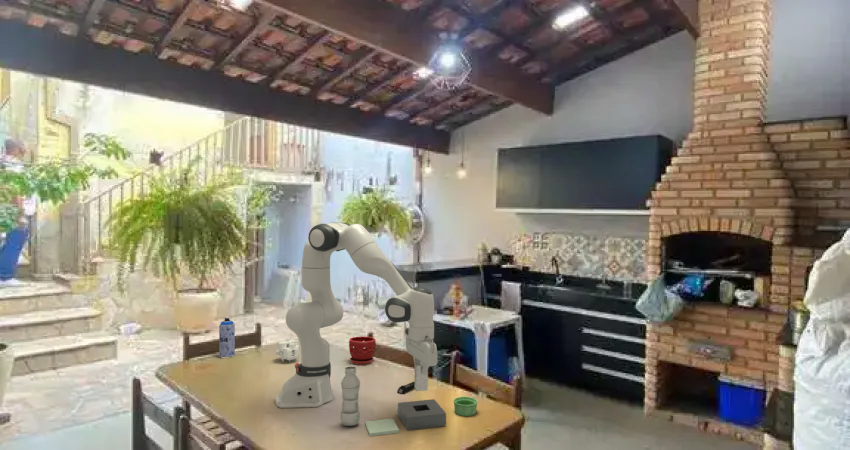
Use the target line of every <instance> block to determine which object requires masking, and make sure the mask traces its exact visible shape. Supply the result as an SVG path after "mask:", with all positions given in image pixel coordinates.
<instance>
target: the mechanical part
mask: <svg viewBox="0 0 850 450" xmlns="http://www.w3.org/2000/svg"><path fill="white" fill-rule="evenodd" d="M275 355H277V356H279V359H281V361H282V363H284V362H285V360H287V361H288V362H289V363H291V361H294V360H296V359H298V358H299V356H300V355H301V345H299V339H294V337H293V336H290V337H287V338H286V337H285V339H284V340H282V341H279V342H277V348H276V350H275Z"/></svg>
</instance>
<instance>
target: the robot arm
mask: <svg viewBox="0 0 850 450" xmlns="http://www.w3.org/2000/svg"><path fill="white" fill-rule="evenodd" d="M343 250H346V252H347V254H348V256H349V257H350V258H351V260H352V262H353V263H354V265H355V266H356V267H357V268H358V269H359V270H360V272H362V273H364V274H368V275H373V276H376V277H378V278H381V279H383V280H384V281H385V282H386V283H387V284H388V285H389V287H390V288H391V289H392V291H393V292H394V293H395V296H392V297H390V298H388V299H387V301H386V302H385V305H384V312H385V315H386V318H387V319H388V320H389V321H391V322H392V323H404V322H405V323H406V322H408V323H409V324H408V327H406V328H405V329H404V333H405V349H406V353H408V354H409V355H411V356H412V357H413V358H412V359H413V363H414V364H415V362H422V365H423V368H422V369H421V371H422V372H421V373H422V374H423V375H427V374H428V375H429V368H430V367H436V366H437V365H438V348H437V344H436V343H435V342H434V338H435V323H434V314H435V299H434V294H433V292H432V291H431V290H430V289H428V288H425V287H420V286H416V287H415V286H414V287H412V286H411V285H410V283H409V282H408V281H407V279H406V278H405V277H404V276H403V274H402V273H401V272H400V270H399V269H398V268H397V266H395V265H394V263H393V262H392V261H391V260H390V259H389V258H388V257H387V256H386V254H385V253H384V252H383V251H382V249H381V248H380V247H379V245H378V243H377V242H376V240H375V239H374V237H373V236H372V235H371V234H370V233H369V231H368V230H367V229H366V228H365V227H364V226H363V225H361V224H360V223H352V224H349V223H347V222H333V221H332V222H328V223H320V224H319V223H318V224H316V225H314V226H312V228H311V229H310V230H309V232H308V241H306V242H305V244H304V247H303V252H302V259H301V287H302V288H303V289H304V290H305V291H306V292H308V293H309V294H310V296H311V301H309V302H302V303H298V304H296V305H294V306H292V307H290V308H289V309H288V310H287V312H286V314H285V324H286V326H287V328H288V329H289V330H290V331H291V332H292V333H294V334H295V335H296V336H297V338H298V339H297V340H298V342H299V346H300V357H301V361H300V362H301V363H299V362H296V363H295V364H294V369H295V374H294V375H292V377H290V378H288V380H286V381H285V382H284V383H283V386H282V388H281V391H280V393H278V394H277V395H276V396H275V403H274V404H275V405H276V407H278V408H281V409H283V408H284V409H286V408H287V409H288V408H289V409H291V408H293V409H294V408H317V407H321V406H322V405H323V404H326V403H328V402H331V401H332V400H333V399H334V397H335V396H334V393H333V389H332V383H331V374H332V365H331V361H330V355H331V354H330V349H331V348H330V346H331V345H330V342H329V341H327V340H326V338H323V337H322V336H321V333H320V331H321V330H320V329H322V328H326V327H331V326H334V325H335V324H337V323H339V322H341V321H342V319H343V317H344V308H343V305H342V302H340V301H339V300H338V299H337V298H336V297H335V295H334V293H333V290H332V286H331V256H332V254H333V253H334V252H340V251H343Z"/></svg>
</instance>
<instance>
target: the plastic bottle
mask: <svg viewBox="0 0 850 450" xmlns="http://www.w3.org/2000/svg"><path fill="white" fill-rule="evenodd" d="M344 369H345V370H344V374H345V375H344V377H343V378H342V380H341V382H340V387H341V393H342V397H341V398H342V406H341V413H340V422H341V424H342V425H343V426H345V427H353V426H357V425H358V424H359V422H360V419H361V416H360V414H361V413H360V410H359V409H360V408H359V396H360V395H359V394H360V387H361V382H360V379H359V377H358V376H357V375H356V374H357V368H356V366H346V367H345V368H344Z"/></svg>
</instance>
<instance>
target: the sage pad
mask: <svg viewBox="0 0 850 450" xmlns="http://www.w3.org/2000/svg"><path fill="white" fill-rule="evenodd" d="M364 425H365V428H366V431H367V433H368V435H369V437H375V436H384V435H393V434H399V433H400V429H399V427H398V426H397V423H396V421H395V420H394V418H393V417H392V418H384V419H377V420H367V421H364Z"/></svg>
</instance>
